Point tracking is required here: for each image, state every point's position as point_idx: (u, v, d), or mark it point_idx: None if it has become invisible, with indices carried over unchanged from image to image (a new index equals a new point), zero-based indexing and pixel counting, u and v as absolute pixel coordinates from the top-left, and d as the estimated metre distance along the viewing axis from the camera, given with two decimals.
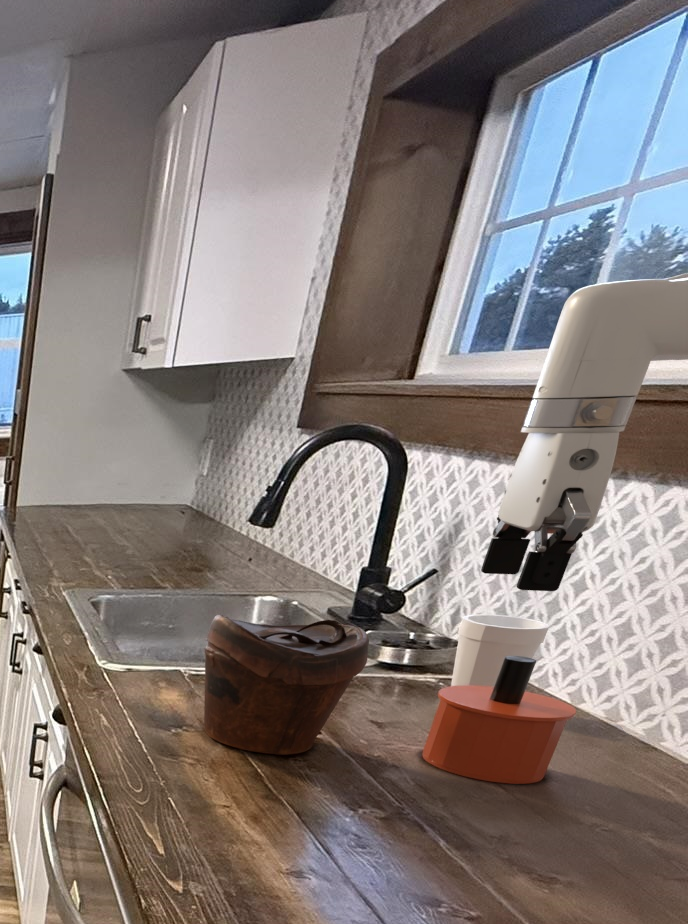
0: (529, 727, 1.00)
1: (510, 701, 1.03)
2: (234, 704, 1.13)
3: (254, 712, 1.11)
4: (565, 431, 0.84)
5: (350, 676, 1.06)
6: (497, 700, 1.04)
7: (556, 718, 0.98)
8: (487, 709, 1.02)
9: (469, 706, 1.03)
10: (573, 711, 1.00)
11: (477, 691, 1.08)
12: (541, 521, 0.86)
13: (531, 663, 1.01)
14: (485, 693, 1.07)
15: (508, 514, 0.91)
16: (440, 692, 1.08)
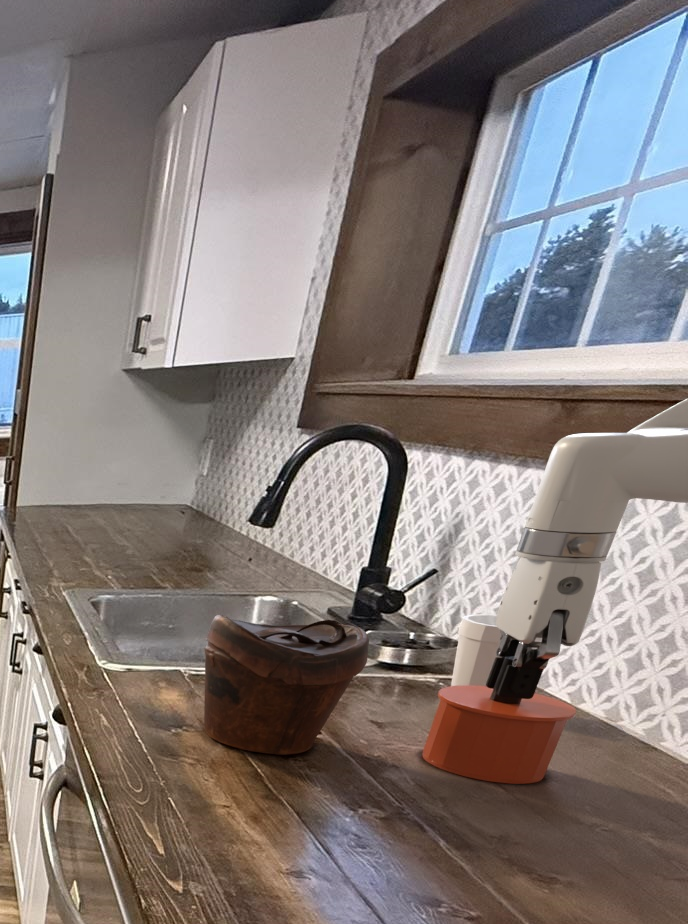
0: (529, 727, 1.00)
1: (510, 701, 1.03)
2: (234, 704, 1.13)
3: (254, 712, 1.11)
4: (553, 560, 0.95)
5: (350, 676, 1.06)
6: (497, 700, 1.04)
7: (556, 718, 0.98)
8: (487, 709, 1.02)
9: (469, 706, 1.03)
10: (573, 711, 1.00)
11: (477, 691, 1.08)
12: (533, 636, 0.97)
13: None
14: (485, 693, 1.07)
15: (504, 624, 1.03)
16: (440, 692, 1.08)
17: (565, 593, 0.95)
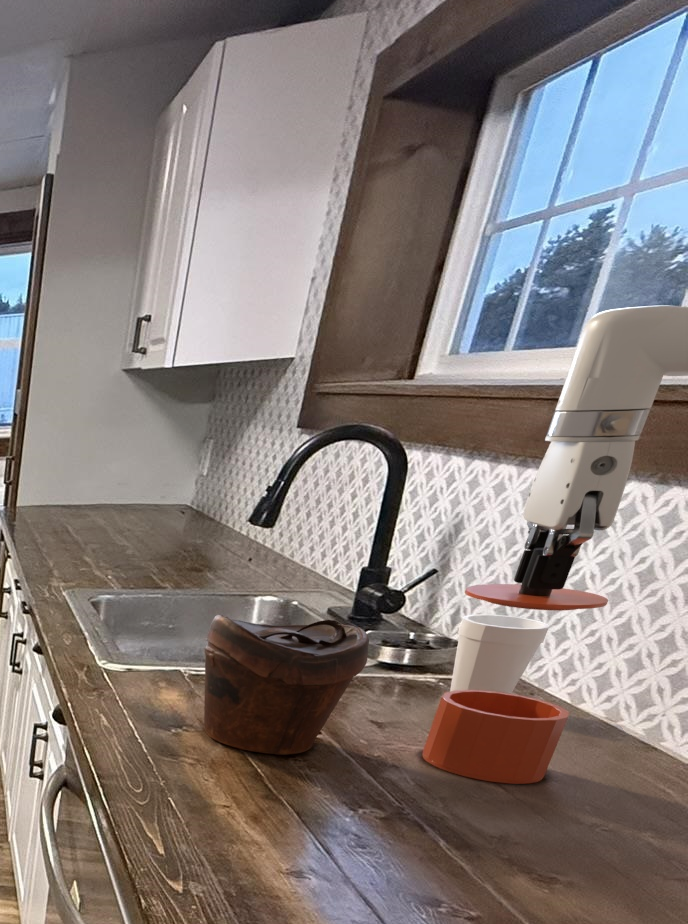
0: (529, 727, 1.00)
1: (540, 593, 1.01)
2: (234, 704, 1.13)
3: (254, 712, 1.11)
4: (586, 440, 0.93)
5: (350, 676, 1.06)
6: (526, 593, 1.02)
7: (589, 605, 0.97)
8: (518, 600, 1.00)
9: (499, 598, 1.01)
10: (605, 600, 0.98)
11: (504, 588, 1.06)
12: (565, 521, 0.95)
13: None
14: (513, 589, 1.05)
15: (533, 514, 1.01)
16: (467, 589, 1.06)
17: (598, 474, 0.93)
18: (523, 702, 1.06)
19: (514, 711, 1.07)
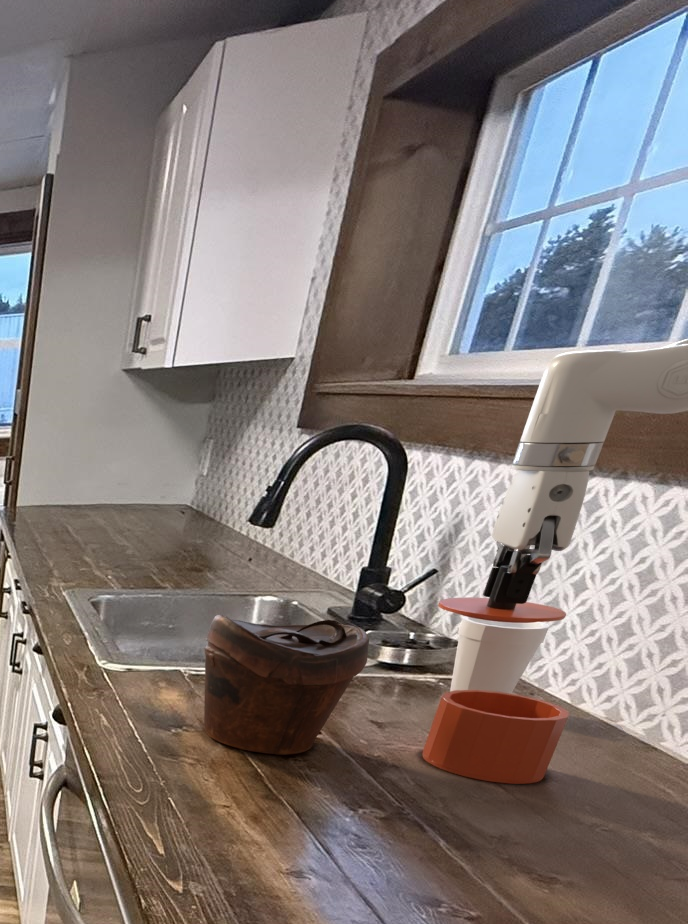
0: (529, 727, 1.00)
1: (505, 606, 1.11)
2: (234, 704, 1.13)
3: (254, 712, 1.11)
4: (546, 469, 1.03)
5: (350, 676, 1.06)
6: (493, 606, 1.12)
7: (547, 618, 1.07)
8: (484, 613, 1.10)
9: (468, 611, 1.11)
10: (563, 613, 1.08)
11: (475, 601, 1.16)
12: (526, 542, 1.05)
13: None
14: (482, 602, 1.15)
15: (500, 535, 1.11)
16: (440, 602, 1.16)
17: (556, 500, 1.03)
18: (523, 702, 1.06)
19: (514, 711, 1.07)
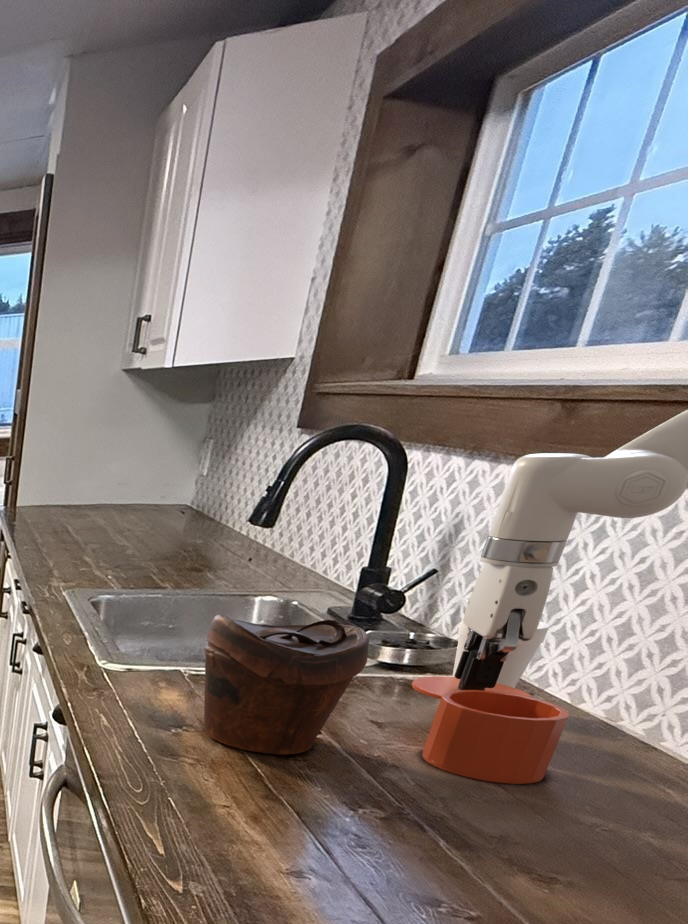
0: (529, 727, 1.00)
1: None
2: (234, 704, 1.13)
3: (254, 712, 1.11)
4: (512, 565, 1.08)
5: (350, 676, 1.06)
6: (463, 689, 1.17)
7: None
8: None
9: (439, 694, 1.16)
10: None
11: (447, 681, 1.20)
12: (494, 632, 1.10)
13: None
14: (454, 683, 1.20)
15: (470, 621, 1.15)
16: (414, 682, 1.21)
17: (522, 594, 1.08)
18: (523, 702, 1.06)
19: (514, 711, 1.07)
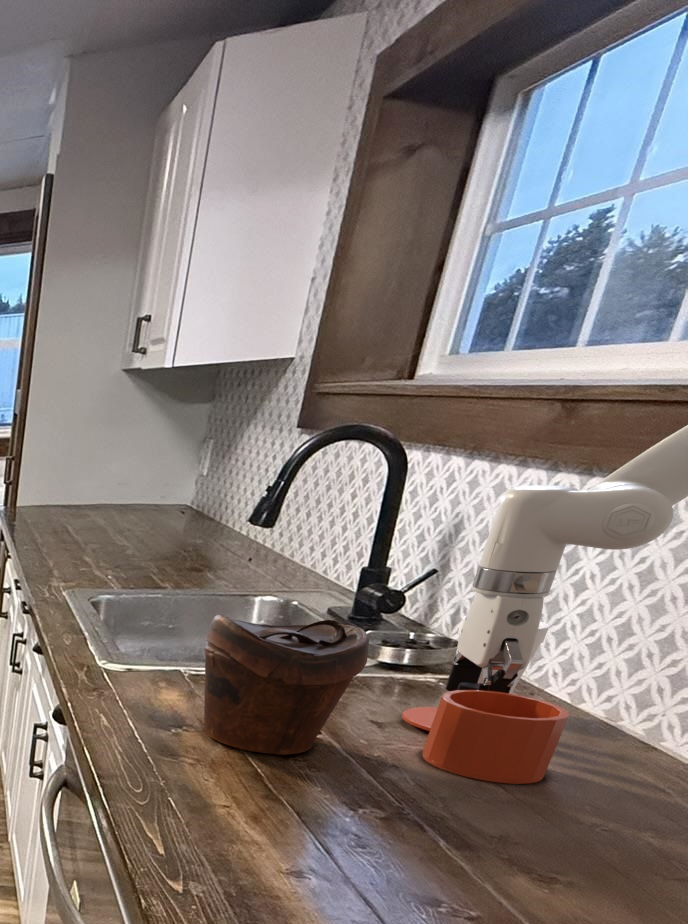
0: (529, 727, 1.00)
1: None
2: (234, 704, 1.13)
3: (254, 712, 1.11)
4: (503, 595, 1.09)
5: (350, 676, 1.06)
6: None
7: None
8: None
9: (428, 727, 1.17)
10: None
11: None
12: (487, 661, 1.11)
13: None
14: None
15: (464, 649, 1.17)
16: (404, 713, 1.22)
17: (514, 624, 1.09)
18: (523, 702, 1.06)
19: (514, 711, 1.07)
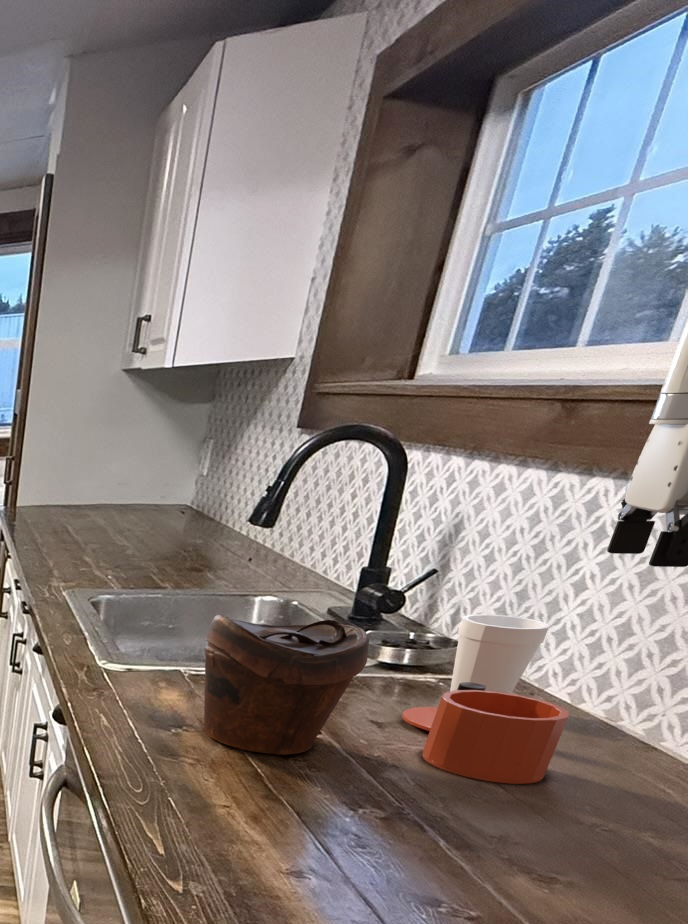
0: (529, 727, 1.00)
1: None
2: (234, 704, 1.13)
3: (254, 712, 1.11)
4: None
5: (350, 676, 1.06)
6: None
7: None
8: None
9: (428, 727, 1.17)
10: None
11: None
12: (673, 503, 0.95)
13: None
14: None
15: (636, 498, 1.00)
16: (404, 713, 1.22)
17: None
18: (523, 702, 1.06)
19: (514, 711, 1.07)
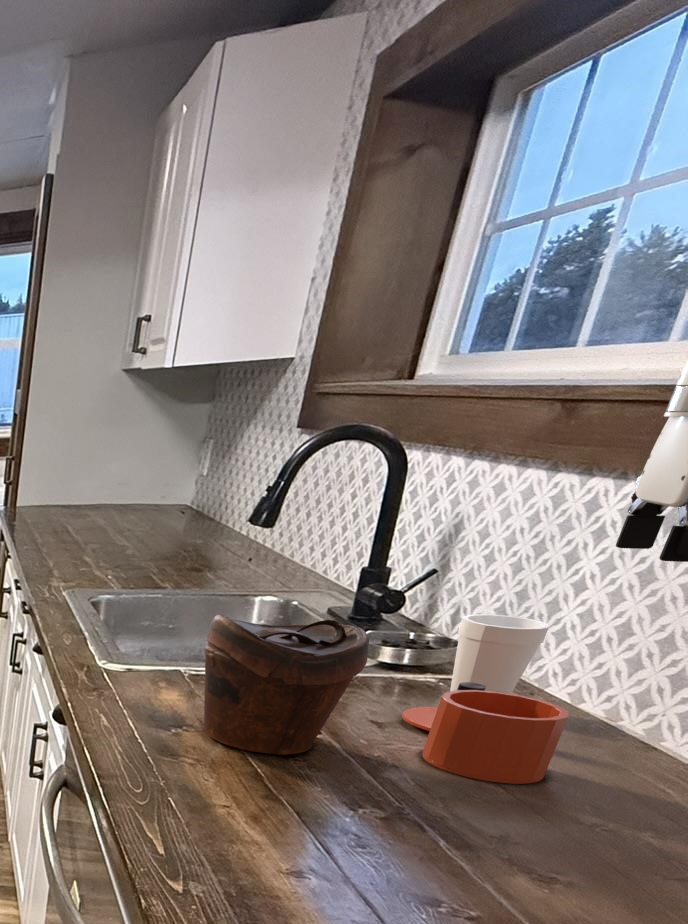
0: (529, 727, 1.00)
1: None
2: (234, 704, 1.13)
3: (254, 712, 1.11)
4: None
5: (350, 676, 1.06)
6: None
7: None
8: None
9: (428, 727, 1.17)
10: None
11: None
12: (686, 497, 0.94)
13: None
14: None
15: (648, 492, 0.99)
16: (404, 713, 1.22)
17: None
18: (523, 702, 1.06)
19: (514, 711, 1.07)
